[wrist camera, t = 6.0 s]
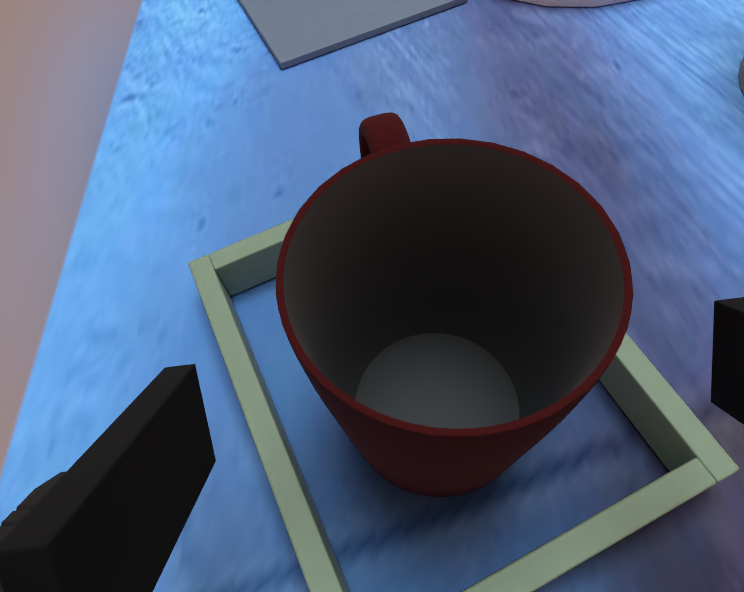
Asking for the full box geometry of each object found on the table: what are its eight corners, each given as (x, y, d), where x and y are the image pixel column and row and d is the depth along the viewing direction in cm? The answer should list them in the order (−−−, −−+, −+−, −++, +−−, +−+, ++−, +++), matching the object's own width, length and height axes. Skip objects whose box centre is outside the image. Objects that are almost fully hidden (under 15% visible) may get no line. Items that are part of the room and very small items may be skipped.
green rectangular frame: (357, 689, 18) (349, 700, 16) (205, 290, 27) (187, 262, 25) (708, 484, 21) (741, 469, 19) (466, 178, 30) (469, 144, 27)
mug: (300, 290, 27) (236, 111, 17) (470, 244, 27) (499, 47, 18) (362, 547, 21) (315, 489, 11) (579, 480, 21) (710, 371, 12)
